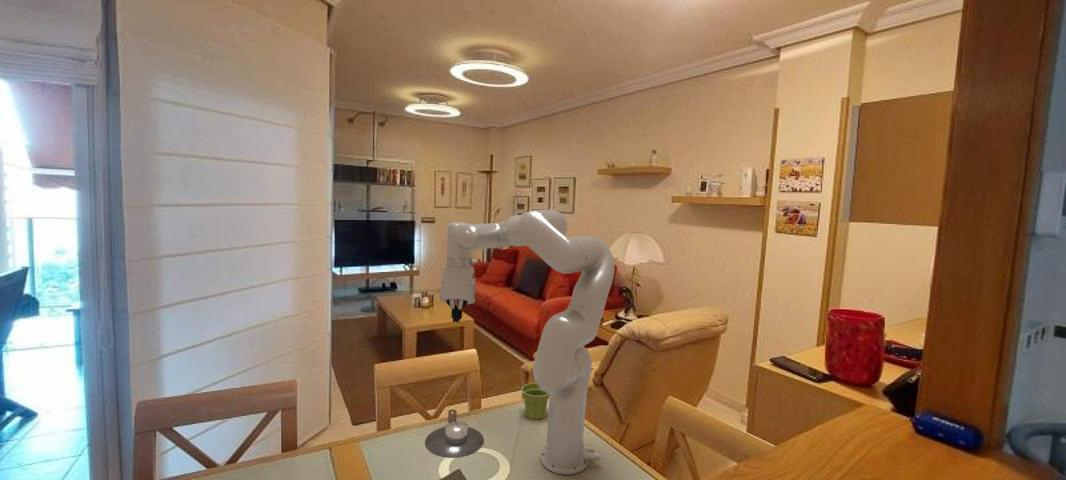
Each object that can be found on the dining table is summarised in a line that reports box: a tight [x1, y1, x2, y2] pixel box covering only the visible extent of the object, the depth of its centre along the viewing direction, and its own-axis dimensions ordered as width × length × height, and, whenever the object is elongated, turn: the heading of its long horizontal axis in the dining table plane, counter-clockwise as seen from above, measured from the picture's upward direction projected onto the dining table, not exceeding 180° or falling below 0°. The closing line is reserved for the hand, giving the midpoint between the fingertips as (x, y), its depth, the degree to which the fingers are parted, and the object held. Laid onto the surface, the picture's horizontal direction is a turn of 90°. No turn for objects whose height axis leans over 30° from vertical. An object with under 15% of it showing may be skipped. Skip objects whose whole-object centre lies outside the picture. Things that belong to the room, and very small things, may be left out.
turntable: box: [424, 409, 485, 459], centre depth 125 cm, size 16×16×6 cm
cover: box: [445, 420, 469, 446], centre depth 126 cm, size 6×6×4 cm
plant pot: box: [521, 382, 550, 421], centre depth 144 cm, size 9×9×9 cm
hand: (456, 320), depth 141 cm, fingers closed
